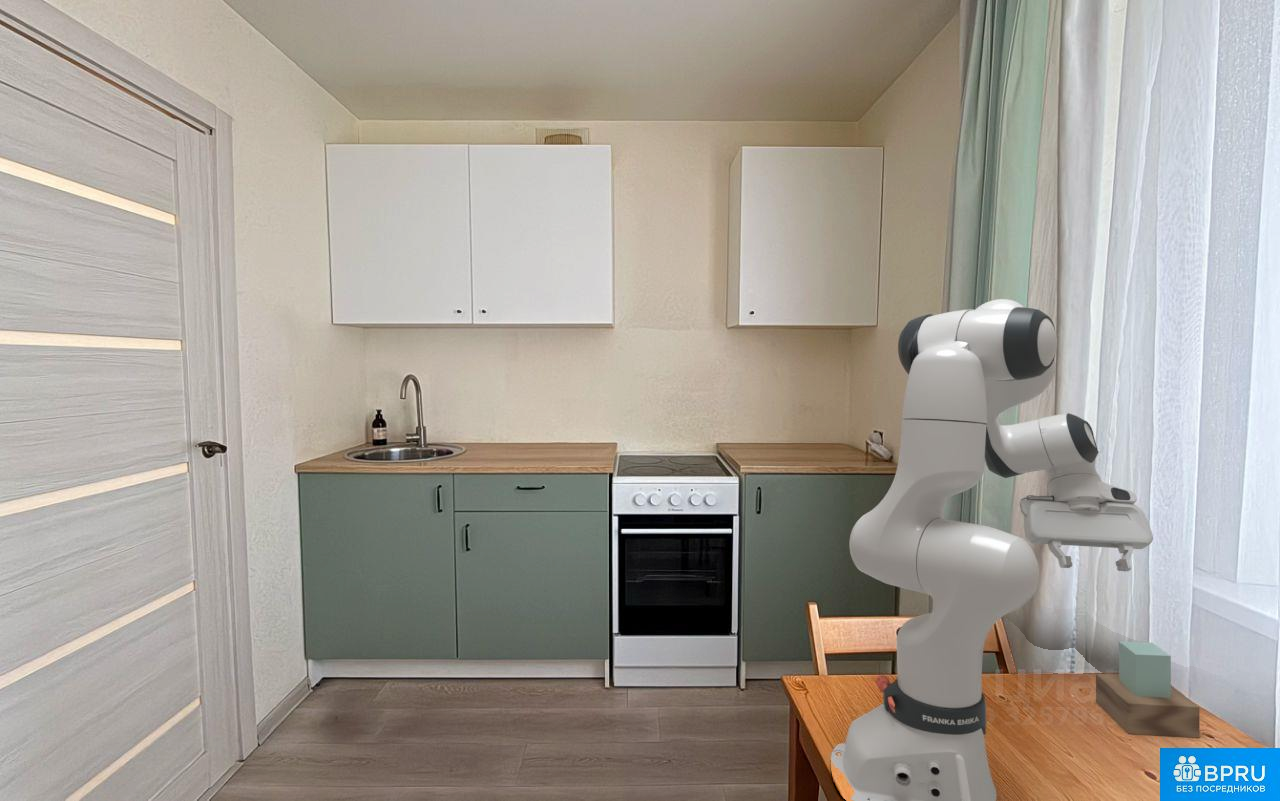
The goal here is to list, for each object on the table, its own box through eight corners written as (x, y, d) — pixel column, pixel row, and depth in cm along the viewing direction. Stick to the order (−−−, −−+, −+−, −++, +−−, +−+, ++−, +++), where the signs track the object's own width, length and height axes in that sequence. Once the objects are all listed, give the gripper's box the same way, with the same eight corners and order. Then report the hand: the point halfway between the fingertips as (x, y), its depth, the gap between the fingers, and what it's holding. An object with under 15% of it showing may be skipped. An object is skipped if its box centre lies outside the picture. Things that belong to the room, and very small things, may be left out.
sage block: (1136, 696, 104) (1135, 654, 104) (1119, 681, 109) (1118, 641, 109) (1170, 698, 103) (1170, 655, 103) (1152, 682, 108) (1151, 642, 108)
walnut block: (1128, 733, 102) (1128, 703, 102) (1096, 701, 112) (1095, 673, 112) (1199, 737, 101) (1199, 707, 100) (1160, 704, 110) (1160, 676, 110)
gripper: (1023, 488, 121) (1038, 559, 114) (1145, 493, 117) (1168, 567, 110) (1012, 501, 126) (1026, 569, 119) (1128, 506, 123) (1149, 577, 116)
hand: (1095, 568), depth 115 cm, fingers open, 8 cm apart
